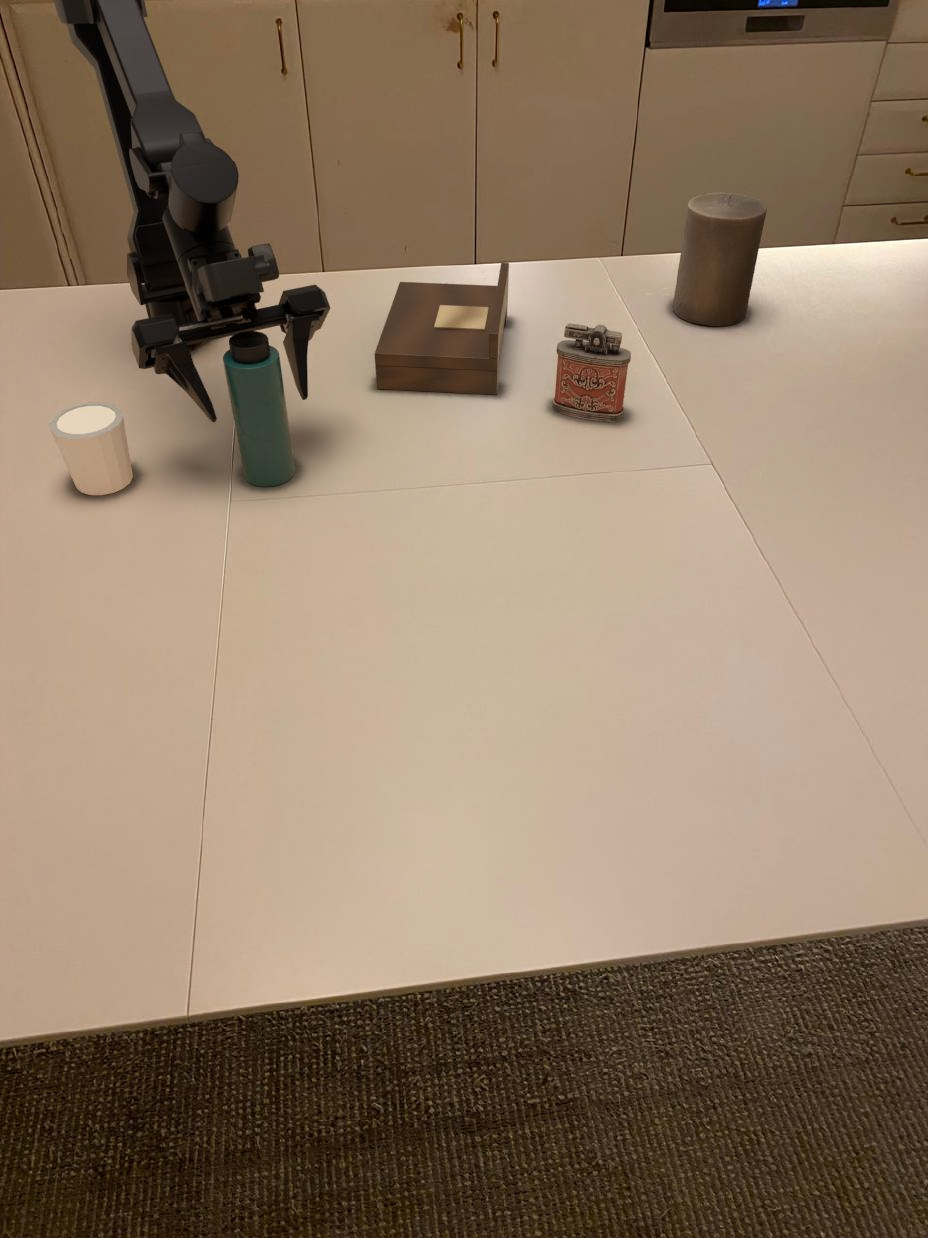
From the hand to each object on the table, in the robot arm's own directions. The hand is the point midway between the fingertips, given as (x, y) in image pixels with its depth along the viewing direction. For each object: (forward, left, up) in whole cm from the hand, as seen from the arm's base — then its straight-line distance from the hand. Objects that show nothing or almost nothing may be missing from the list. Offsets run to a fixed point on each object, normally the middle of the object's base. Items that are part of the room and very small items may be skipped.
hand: (260, 409), depth 92 cm
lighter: (+24, +27, -8) cm, 37 cm away
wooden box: (+3, +32, -7) cm, 33 cm away
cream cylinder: (-14, -9, -8) cm, 19 cm away
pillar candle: (+28, +59, -8) cm, 66 cm away
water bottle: (0, 0, -7) cm, 8 cm away
